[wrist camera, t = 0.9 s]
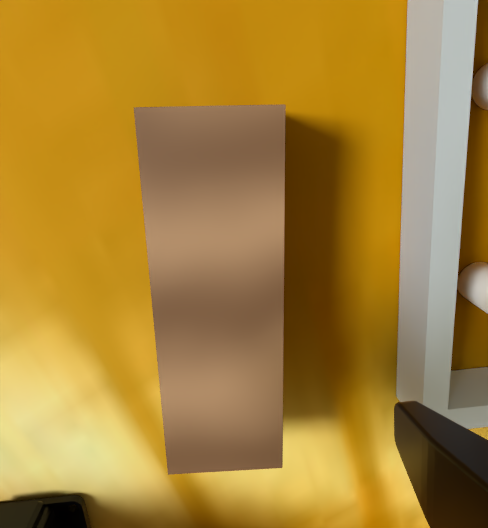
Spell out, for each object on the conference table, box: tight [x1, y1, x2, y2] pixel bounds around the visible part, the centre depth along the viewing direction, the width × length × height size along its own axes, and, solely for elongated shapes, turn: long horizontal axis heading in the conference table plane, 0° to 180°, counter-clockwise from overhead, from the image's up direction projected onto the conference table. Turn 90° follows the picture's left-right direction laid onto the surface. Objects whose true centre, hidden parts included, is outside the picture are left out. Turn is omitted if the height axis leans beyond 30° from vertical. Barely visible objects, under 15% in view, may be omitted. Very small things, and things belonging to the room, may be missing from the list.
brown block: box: [134, 105, 285, 474], centre depth 19 cm, size 15×5×4 cm, turn 1°
